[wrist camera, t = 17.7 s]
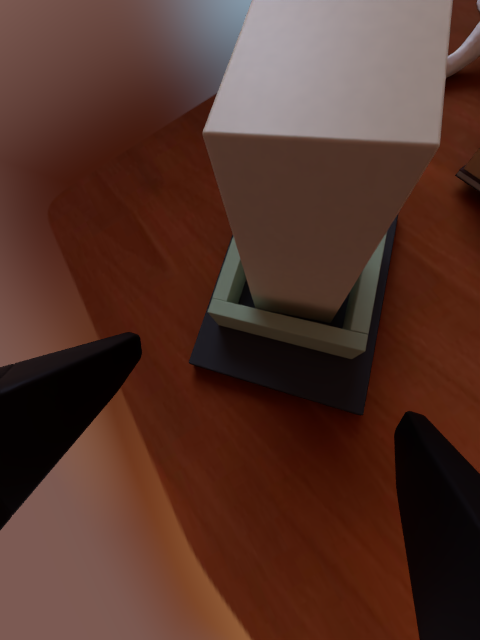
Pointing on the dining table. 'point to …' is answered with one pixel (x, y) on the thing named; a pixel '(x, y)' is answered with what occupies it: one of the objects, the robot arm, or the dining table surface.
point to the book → (471, 172)
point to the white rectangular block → (324, 138)
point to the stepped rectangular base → (296, 337)
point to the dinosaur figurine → (465, 52)
